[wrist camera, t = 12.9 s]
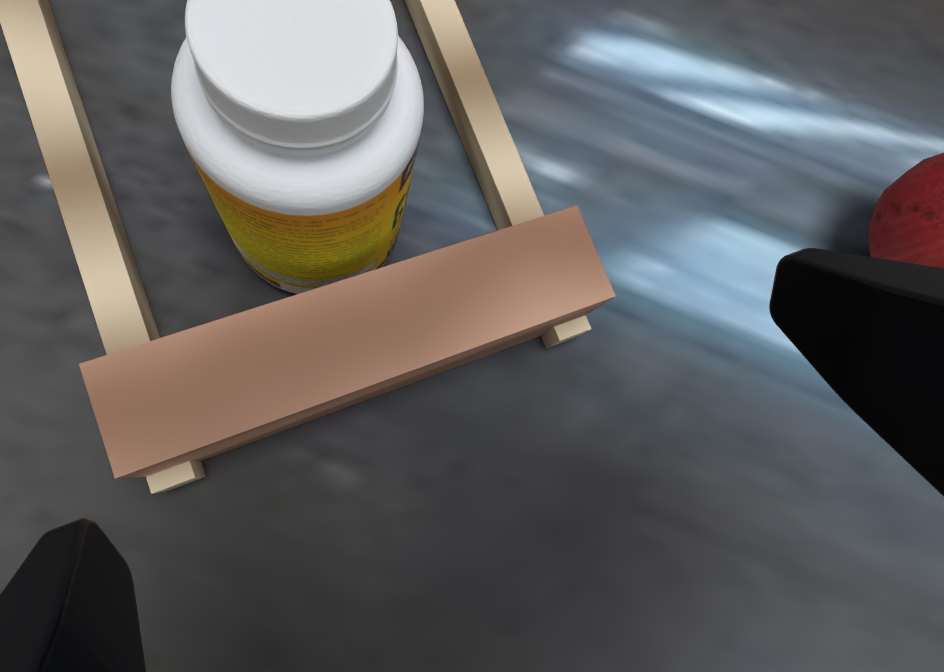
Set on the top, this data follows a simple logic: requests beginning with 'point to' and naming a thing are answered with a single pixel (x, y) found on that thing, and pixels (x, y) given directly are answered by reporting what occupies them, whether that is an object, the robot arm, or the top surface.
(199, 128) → the supplement bottle
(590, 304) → the rail track
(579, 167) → the top surface
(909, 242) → the red round piece
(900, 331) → the robot arm
